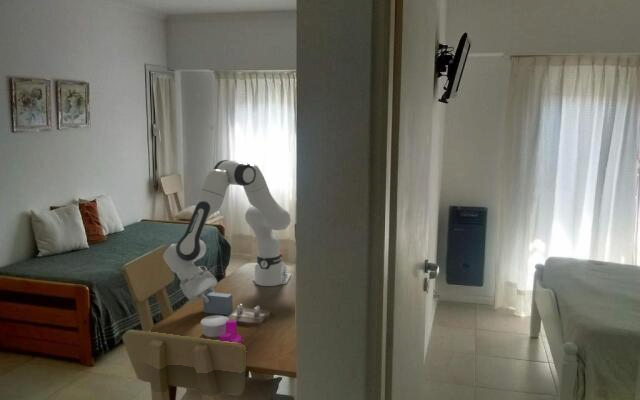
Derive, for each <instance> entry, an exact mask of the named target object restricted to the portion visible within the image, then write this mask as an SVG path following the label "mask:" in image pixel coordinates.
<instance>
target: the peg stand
mask: <svg viewBox="0 0 640 400" xmlns="http://www.w3.org/2000/svg"><path fill="white" fill-rule="evenodd" d="M271 316H273V310H265V309H261V308H260V305H256V307H254V308H247V307H243V303H238V305H236V309H235V310H233V312H232V313H231V314H229V315H226V317H228V318H229V320H236V322H237V325H241V326H245V327H246V326H247V327H248V326H249V327H256V328H260V327H261V326H262V325H263V324H264V323H265V322H266V321H267V320H268V319H269V318H270V317H271ZM260 325H261V326H260Z"/></svg>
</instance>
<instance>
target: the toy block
mask: <svg viewBox="0 0 640 400" xmlns="http://www.w3.org/2000/svg"><path fill="white" fill-rule="evenodd" d="M237 325H238V324H237V322H236V320H227V321H226V332H225V334H221V335H220V337H219V342H220V341H229V342H237V343H242V344H243V336H242V334H238V326H237Z"/></svg>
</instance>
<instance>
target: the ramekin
mask: <svg viewBox="0 0 640 400" xmlns="http://www.w3.org/2000/svg"><path fill="white" fill-rule="evenodd" d="M227 320H229V318H228V317H227V316H226V315H225V316H224V315H210V316H205V317H204V318H202V319H201V320H200V326H201V331H202V333H203V335H204V336H205V337H208V338H220V335H221V334H225V332H226V321H227Z"/></svg>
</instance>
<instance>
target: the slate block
mask: <svg viewBox="0 0 640 400" xmlns="http://www.w3.org/2000/svg"><path fill="white" fill-rule="evenodd" d="M204 296H206V297H209V299H210V301H209V302H208V303H206V302H205V301H204V300H202V301H203V302H202V303H203V313H208V314H216V315H222V316H224V315H225V316H228V315H230V314H231V313H232V312H234V309H233V306H234V305H233V294H231V293H223V292H215V291H214V292H208V291H206V292H205V293H204Z"/></svg>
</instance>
